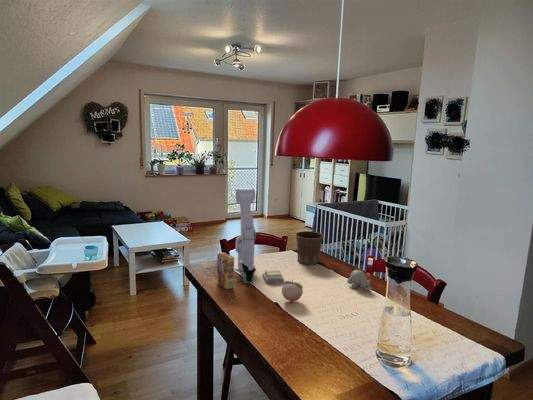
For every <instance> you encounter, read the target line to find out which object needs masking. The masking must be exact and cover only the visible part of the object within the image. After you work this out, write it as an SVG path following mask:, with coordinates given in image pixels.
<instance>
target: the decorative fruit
mask: <svg viewBox="0 0 533 400" xmlns="http://www.w3.org/2000/svg"><path fill="white" fill-rule="evenodd" d="M281 287H282V288H281V294H282V296H283V298H284V299H285V300H287V301H288V302H289V301H290V302H291V303H292V302H296V301H298V300H299V299H300V298H301V297H302V295H303V294H304V293H303V291H304V290H303V289H304V287H303V285H302V284H301V283H300V282H296V281H295V282H294V280H293V279H292V281H291V280H284V282H283V283H282V286H281Z"/></svg>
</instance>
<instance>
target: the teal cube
mask: <svg viewBox="0 0 533 400" xmlns="http://www.w3.org/2000/svg"><path fill="white" fill-rule="evenodd" d="M253 277H254V276H253ZM253 277H252V281H251V282H247V279H246V273H244V272H242V281H243V283H244V284H252V283H253Z"/></svg>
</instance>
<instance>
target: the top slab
mask: <svg viewBox="0 0 533 400" xmlns="http://www.w3.org/2000/svg"><path fill="white" fill-rule="evenodd" d="M264 273H265V275H266V277H267V279H281V275H282V273H281V271H280V269H279V268H265V269H264Z"/></svg>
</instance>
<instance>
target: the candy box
mask: <svg viewBox="0 0 533 400" xmlns="http://www.w3.org/2000/svg"><path fill="white" fill-rule="evenodd" d="M216 269H217V272H216V274H217V275H216V278H217V280H216V283H217V285H219V286H220V287H222V288H223V289H226V290H230V289H233V288H234V283H235V281H234V280H235V257H234V256H233V255H230V254H228V253H226V252H219V253H217V267H216Z"/></svg>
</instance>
